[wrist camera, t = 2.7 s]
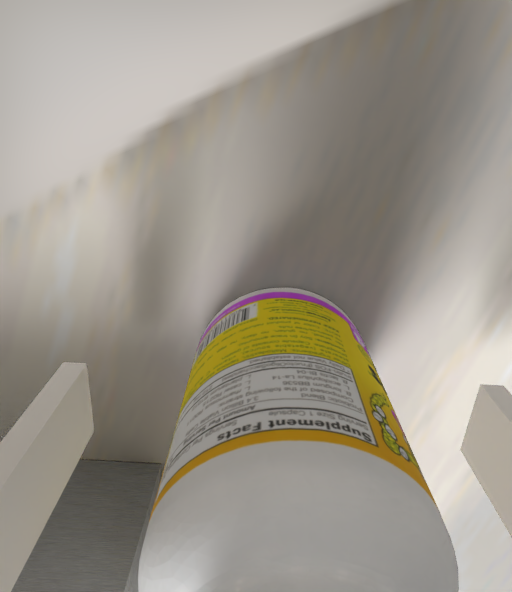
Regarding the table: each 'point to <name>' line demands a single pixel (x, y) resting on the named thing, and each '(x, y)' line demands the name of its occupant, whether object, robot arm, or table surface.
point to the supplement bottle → (291, 465)
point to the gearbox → (94, 530)
